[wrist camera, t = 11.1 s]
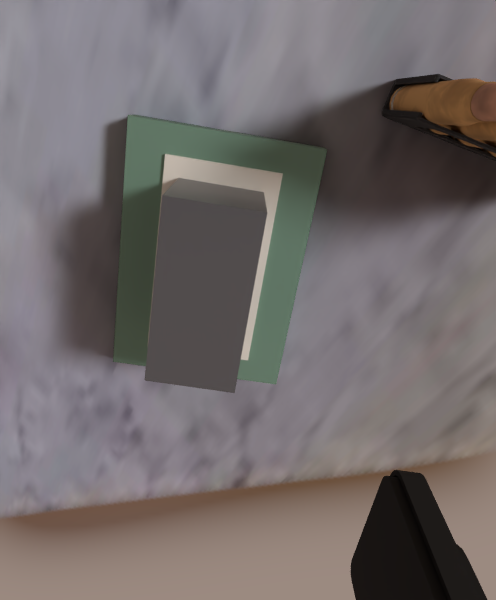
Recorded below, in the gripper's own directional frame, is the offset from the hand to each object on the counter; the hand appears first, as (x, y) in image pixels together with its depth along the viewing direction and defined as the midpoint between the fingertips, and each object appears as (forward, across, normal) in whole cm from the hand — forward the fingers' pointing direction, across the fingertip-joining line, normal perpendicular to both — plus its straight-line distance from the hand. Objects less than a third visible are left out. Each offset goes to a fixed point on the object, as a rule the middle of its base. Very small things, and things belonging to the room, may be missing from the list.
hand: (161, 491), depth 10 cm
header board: (+18, 0, +1) cm, 19 cm away
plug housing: (+17, 0, +1) cm, 17 cm away
